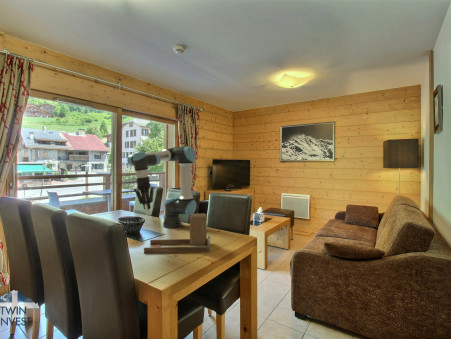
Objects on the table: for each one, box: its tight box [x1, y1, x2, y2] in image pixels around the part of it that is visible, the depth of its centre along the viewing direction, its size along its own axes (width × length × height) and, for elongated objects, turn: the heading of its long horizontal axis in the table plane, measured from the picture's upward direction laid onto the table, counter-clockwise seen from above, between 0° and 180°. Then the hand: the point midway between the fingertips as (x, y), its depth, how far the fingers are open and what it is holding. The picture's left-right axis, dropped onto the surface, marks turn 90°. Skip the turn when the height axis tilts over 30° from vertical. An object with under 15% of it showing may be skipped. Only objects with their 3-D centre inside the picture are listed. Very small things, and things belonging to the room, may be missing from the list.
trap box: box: [143, 233, 211, 254], centre depth 149 cm, size 15×38×6 cm, turn 92°
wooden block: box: [189, 212, 208, 246], centre depth 151 cm, size 10×10×20 cm
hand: (148, 214), depth 151 cm, fingers closed
